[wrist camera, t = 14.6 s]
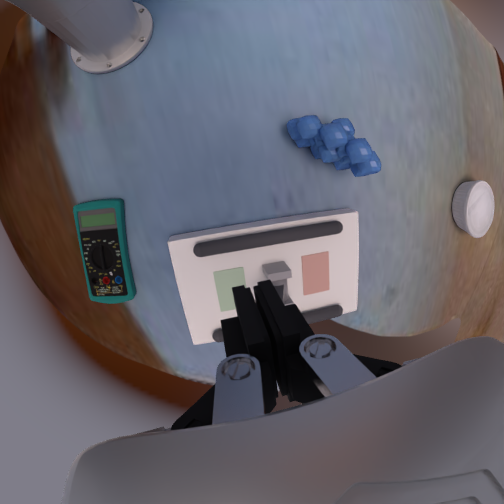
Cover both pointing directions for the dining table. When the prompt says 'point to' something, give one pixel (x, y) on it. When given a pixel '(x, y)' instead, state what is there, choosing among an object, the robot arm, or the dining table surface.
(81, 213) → the digital multimeter
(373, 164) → the grapes
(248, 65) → the dining table surface
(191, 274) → the switch base plate
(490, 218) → the ramekin
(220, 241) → the pair of dark bars
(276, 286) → the breaker lever
